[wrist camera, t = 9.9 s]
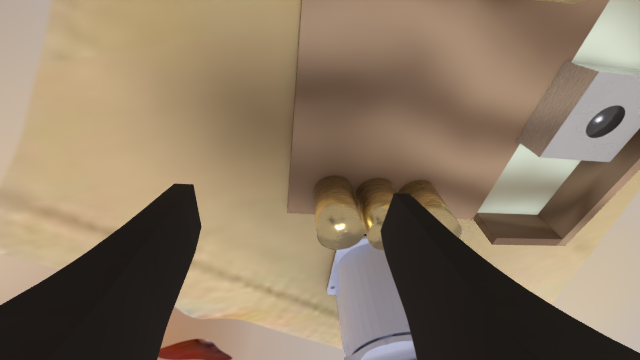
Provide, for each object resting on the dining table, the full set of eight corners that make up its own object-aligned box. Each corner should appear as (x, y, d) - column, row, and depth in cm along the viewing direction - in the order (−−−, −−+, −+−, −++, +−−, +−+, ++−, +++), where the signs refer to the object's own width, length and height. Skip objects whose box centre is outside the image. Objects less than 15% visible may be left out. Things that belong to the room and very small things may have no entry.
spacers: (426, 209, 24) (450, 251, 20) (311, 205, 23) (314, 249, 19) (563, -80, 13) (666, -101, 9) (355, -122, 12) (384, -165, 8)
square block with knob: (580, 145, 21) (610, 162, 19) (516, 140, 20) (539, 157, 18) (639, 70, 18) (681, 81, 16) (564, 60, 17) (599, 71, 15)
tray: (535, 216, 27) (565, 245, 24) (287, 208, 23) (286, 240, 20) (749, -49, 15) (858, -55, 12) (311, -141, 12) (317, -179, 9)
